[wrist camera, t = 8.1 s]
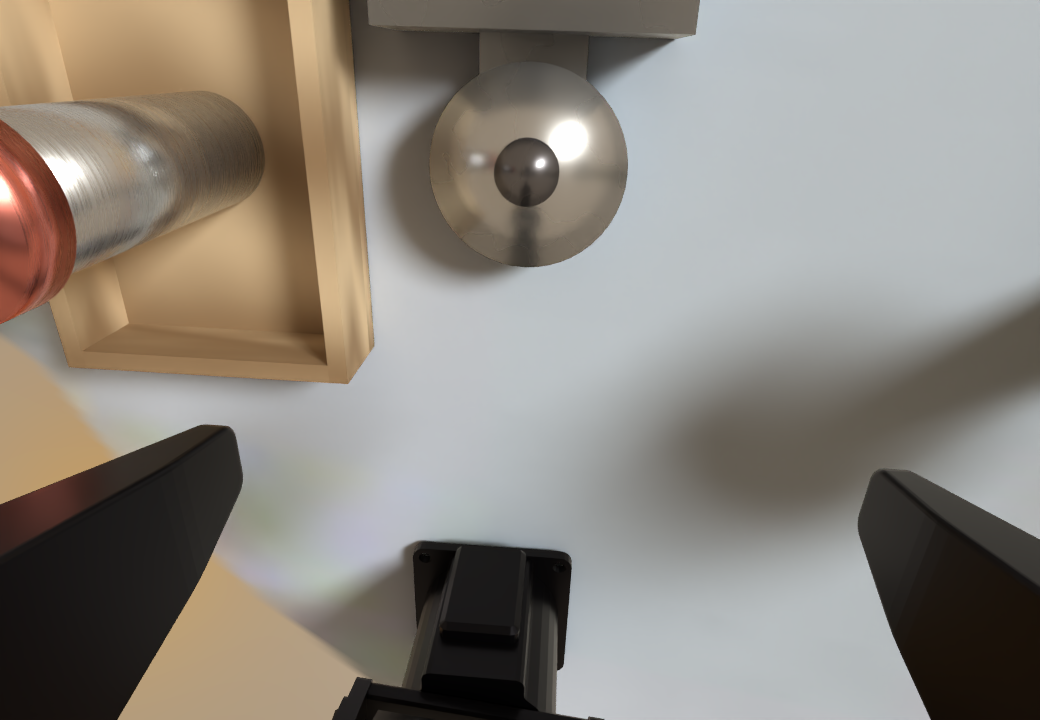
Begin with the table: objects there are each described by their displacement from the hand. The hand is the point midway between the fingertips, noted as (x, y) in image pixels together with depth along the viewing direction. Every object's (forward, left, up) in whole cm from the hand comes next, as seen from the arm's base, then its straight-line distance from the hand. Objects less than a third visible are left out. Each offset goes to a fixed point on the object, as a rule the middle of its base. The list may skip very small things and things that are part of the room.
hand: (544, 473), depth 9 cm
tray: (+2, +11, -13) cm, 17 cm away
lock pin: (+2, +11, -12) cm, 17 cm away
